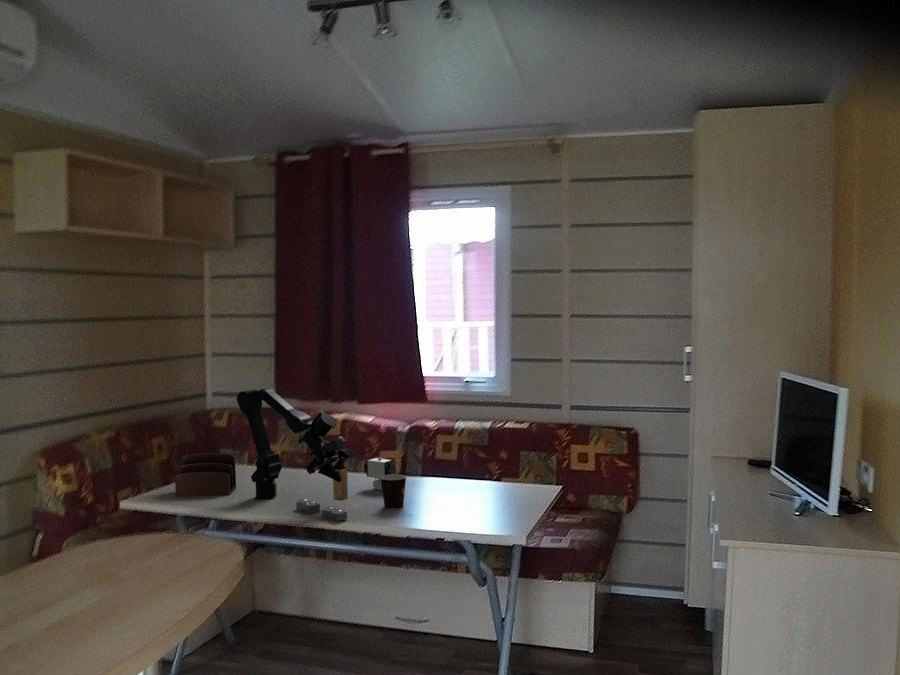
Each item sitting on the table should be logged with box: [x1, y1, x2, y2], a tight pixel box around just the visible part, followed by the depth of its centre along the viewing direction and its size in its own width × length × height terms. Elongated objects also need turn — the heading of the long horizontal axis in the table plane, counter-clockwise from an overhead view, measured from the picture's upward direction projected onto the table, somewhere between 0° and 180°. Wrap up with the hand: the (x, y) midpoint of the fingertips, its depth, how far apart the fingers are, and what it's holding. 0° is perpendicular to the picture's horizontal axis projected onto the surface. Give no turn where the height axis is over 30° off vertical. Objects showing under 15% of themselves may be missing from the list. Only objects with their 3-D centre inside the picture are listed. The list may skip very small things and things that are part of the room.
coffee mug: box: [381, 473, 407, 509], centre depth 266 cm, size 12×9×10 cm
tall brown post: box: [332, 468, 349, 502], centre depth 266 cm, size 4×3×10 cm
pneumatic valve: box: [363, 456, 397, 491], centre depth 293 cm, size 6×12×12 cm, turn 59°
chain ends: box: [295, 498, 348, 523], centre depth 259 cm, size 23×4×3 cm, turn 44°
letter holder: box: [174, 452, 237, 497], centre depth 291 cm, size 10×20×14 cm, turn 93°
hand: (343, 480), depth 265 cm, fingers closed on tall brown post, 3 cm apart
